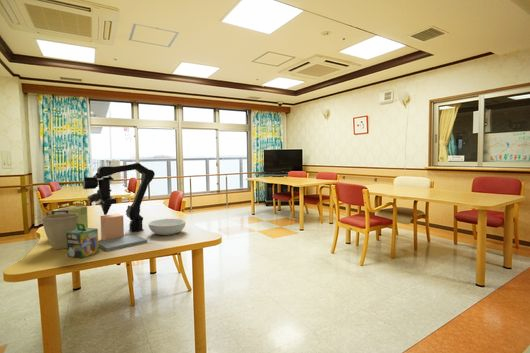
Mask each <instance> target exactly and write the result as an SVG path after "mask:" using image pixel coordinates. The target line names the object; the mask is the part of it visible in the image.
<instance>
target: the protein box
mask: <svg viewBox="0 0 530 353" xmlns="http://www.w3.org/2000/svg"><path fill="white" fill-rule="evenodd" d="M65 213H76V214H78V220H77V223H79V224H84V226H85V228H89V223H88V222H89V220H88V206H83V205H79V206H78V205H77V206H76V205H74V206H73V205H71V206H67V207H61V208H57V209H53V210H51V215H54V214H65ZM79 227H80V228H83V227H82V226H79ZM76 229H78V228H77V226H76Z"/></svg>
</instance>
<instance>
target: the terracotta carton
mask: <svg viewBox="0 0 530 353" xmlns="http://www.w3.org/2000/svg"><path fill="white" fill-rule="evenodd" d="M124 225H125V223H124V215H123V214H119V213H113V214H107V215H100V240H101V241H102V240H107V239H112V238H118V237H123V236H125V234H124V233H125V231H124V229H125V228H124V227H125V226H124Z"/></svg>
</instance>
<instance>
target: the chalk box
mask: <svg viewBox="0 0 530 353" xmlns="http://www.w3.org/2000/svg"><path fill="white" fill-rule="evenodd" d="M76 225H77V228H78V229H76V230H73V231H69V232H67V233H66V235H67V248H66V250H67V257H72V258H77V259H84V258H86V257H89V256H93V255H94V254H97V253H100V247H99V244H98V241H99V233H98V232H99V231H98V230H99V229H98V228H96V227H95V228H94V227H93V228H92V227H88V228H85V226H84V224H79V223H76ZM79 226H82V227H83V228H80V227H79Z"/></svg>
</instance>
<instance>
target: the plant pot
mask: <svg viewBox="0 0 530 353" xmlns="http://www.w3.org/2000/svg"><path fill="white" fill-rule="evenodd" d="M77 220H78V214H76V213H65V214H54V215H52V214H49V215H45V216H42V217H41V221H42V226H43V231H44V232H45V233H44V234H45V235H46V237H47V239H48V243H49V244H50V246H51V248H52V249H53V250H61V249H67V235H66V233H67V232H69V231H73V230H76V226H77V225H76V223H77Z"/></svg>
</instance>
